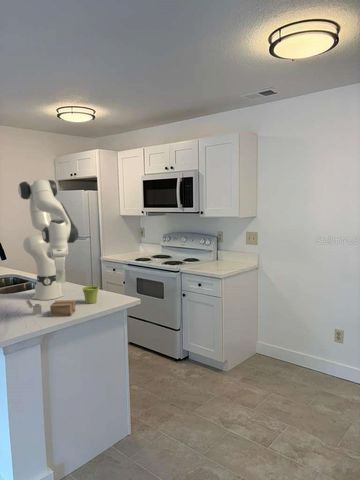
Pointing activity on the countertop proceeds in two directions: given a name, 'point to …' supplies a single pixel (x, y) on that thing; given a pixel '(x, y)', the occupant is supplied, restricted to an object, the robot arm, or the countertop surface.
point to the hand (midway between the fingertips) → (60, 277)
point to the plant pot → (90, 294)
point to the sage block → (60, 279)
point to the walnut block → (62, 308)
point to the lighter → (35, 308)
